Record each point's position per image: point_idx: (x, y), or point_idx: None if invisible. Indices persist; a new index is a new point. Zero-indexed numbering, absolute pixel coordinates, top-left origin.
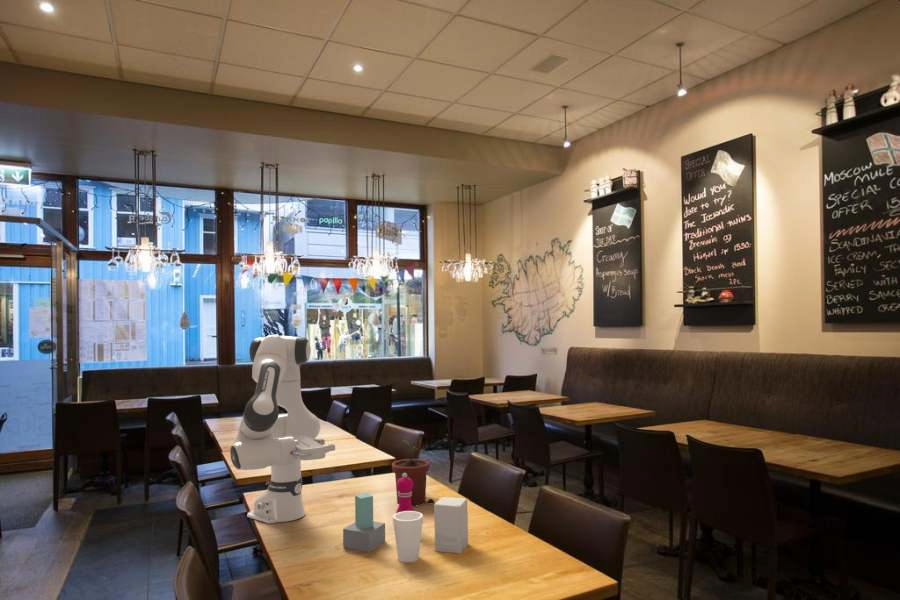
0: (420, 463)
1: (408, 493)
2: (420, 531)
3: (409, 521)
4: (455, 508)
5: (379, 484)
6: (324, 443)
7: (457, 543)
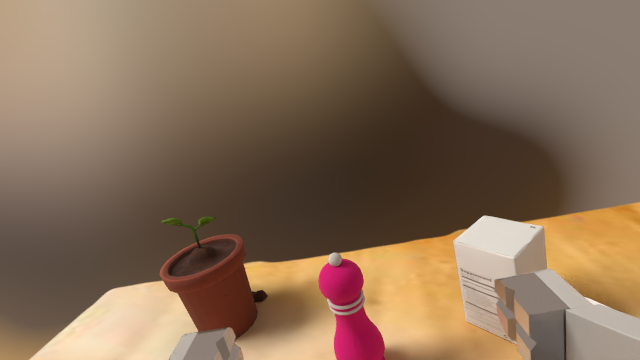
0: (213, 246)
1: (362, 291)
2: None
3: None
4: (540, 235)
5: (93, 347)
6: (241, 356)
7: None
